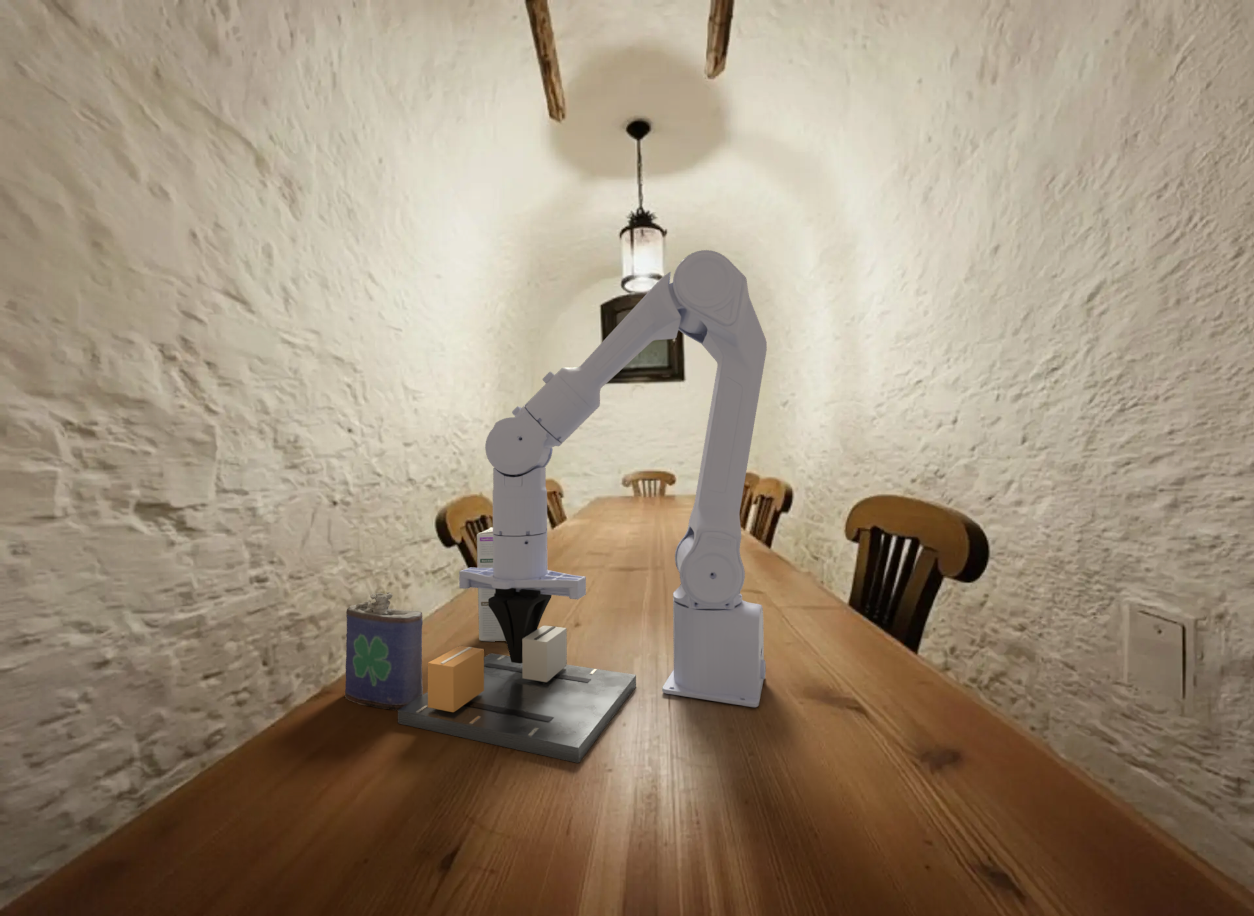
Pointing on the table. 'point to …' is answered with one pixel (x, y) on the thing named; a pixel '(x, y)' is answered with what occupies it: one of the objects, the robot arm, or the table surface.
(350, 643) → the flask
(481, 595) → the syrup box
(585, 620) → the table surface
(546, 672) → the white fader knob
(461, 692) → the orange fader
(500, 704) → the grey slotted tray
